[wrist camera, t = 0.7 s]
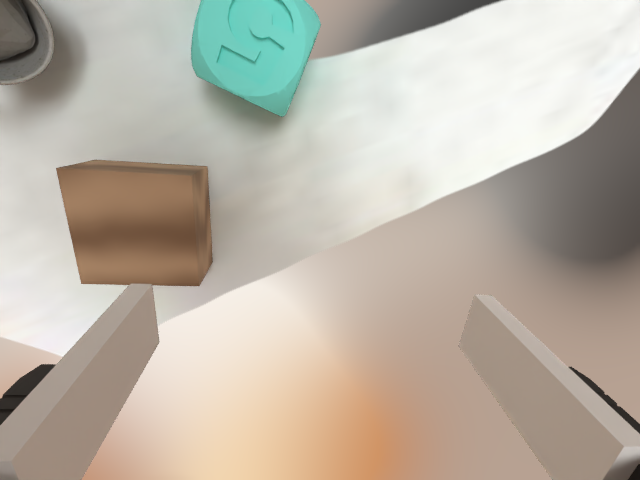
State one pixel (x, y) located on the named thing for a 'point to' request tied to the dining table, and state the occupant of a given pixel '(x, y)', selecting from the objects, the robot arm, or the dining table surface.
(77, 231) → the base block
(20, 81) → the ceramic mug
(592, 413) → the robot arm
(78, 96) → the dining table surface
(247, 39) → the decorative dice
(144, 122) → the dining table surface
